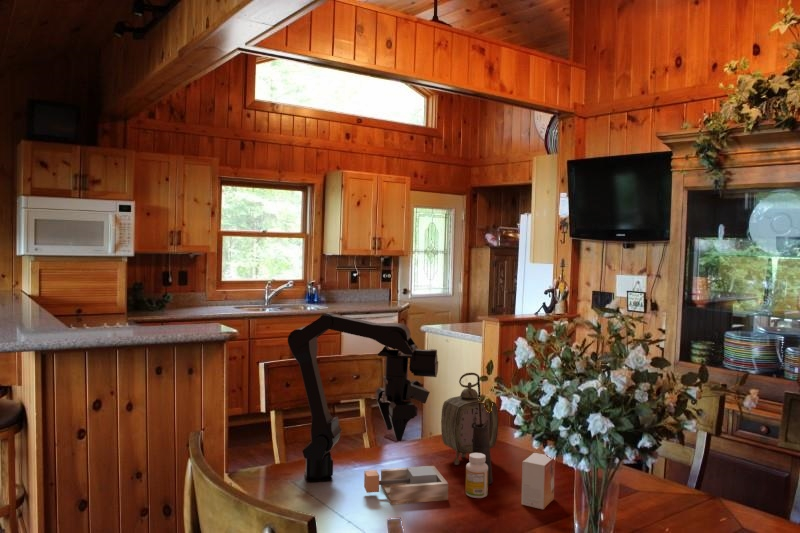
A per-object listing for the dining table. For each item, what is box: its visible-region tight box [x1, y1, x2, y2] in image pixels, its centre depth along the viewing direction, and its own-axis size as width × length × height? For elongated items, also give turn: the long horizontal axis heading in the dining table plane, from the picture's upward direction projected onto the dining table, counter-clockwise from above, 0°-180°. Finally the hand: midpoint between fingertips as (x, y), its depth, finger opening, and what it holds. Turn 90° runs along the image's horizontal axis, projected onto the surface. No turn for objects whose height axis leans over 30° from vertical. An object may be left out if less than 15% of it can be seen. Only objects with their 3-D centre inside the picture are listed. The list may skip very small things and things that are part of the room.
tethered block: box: [363, 465, 437, 494], centre depth 155 cm, size 17×6×4 cm, turn 103°
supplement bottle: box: [465, 453, 489, 499], centre depth 155 cm, size 5×5×10 cm
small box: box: [520, 452, 556, 510], centre depth 152 cm, size 8×6×10 cm
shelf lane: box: [380, 465, 449, 505], centre depth 156 cm, size 14×12×4 cm
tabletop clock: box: [440, 372, 499, 466], centre depth 180 cm, size 14×9×25 cm, turn 118°
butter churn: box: [472, 374, 493, 486], centre depth 164 cm, size 9×10×28 cm
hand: (394, 435), depth 160 cm, fingers open, 9 cm apart
